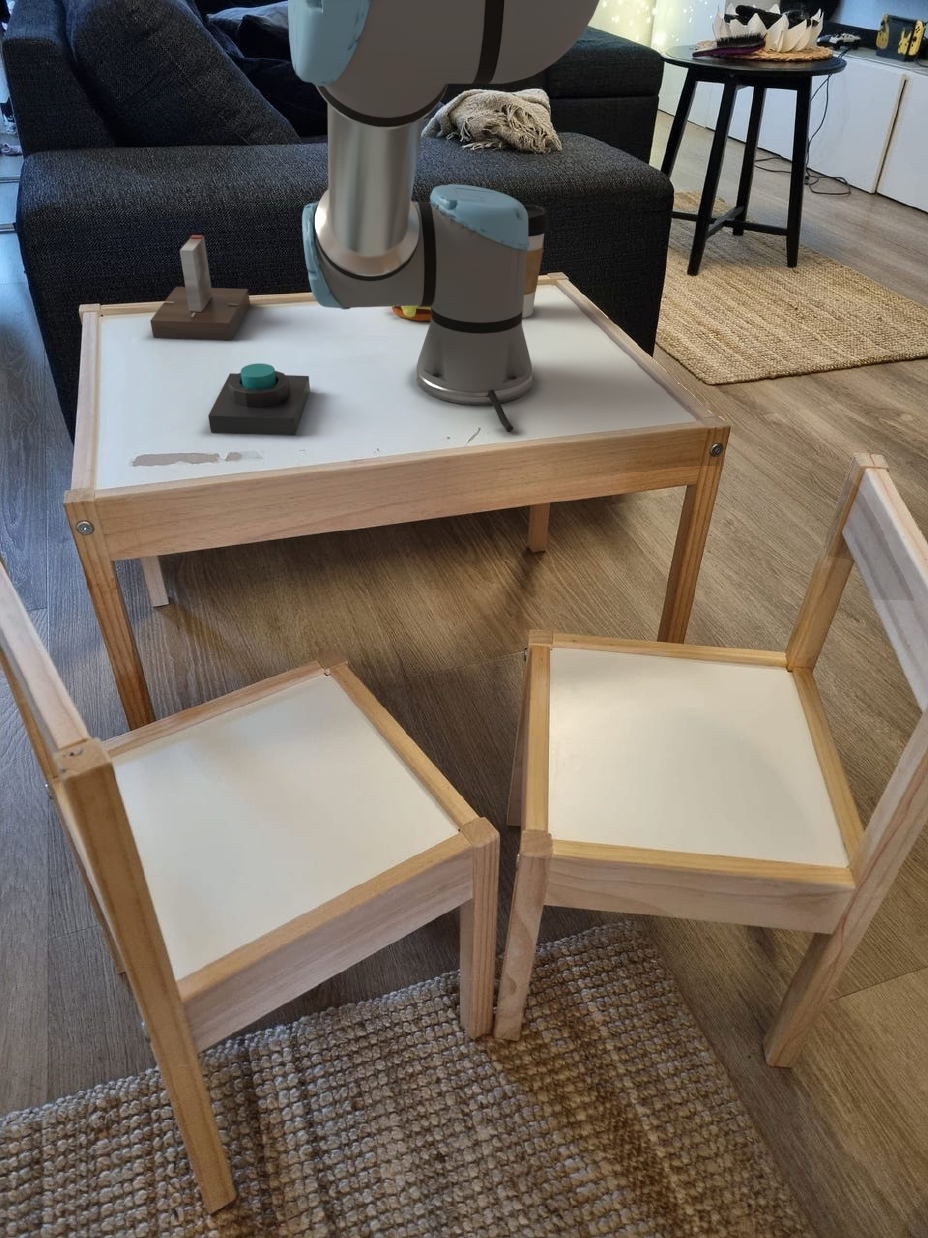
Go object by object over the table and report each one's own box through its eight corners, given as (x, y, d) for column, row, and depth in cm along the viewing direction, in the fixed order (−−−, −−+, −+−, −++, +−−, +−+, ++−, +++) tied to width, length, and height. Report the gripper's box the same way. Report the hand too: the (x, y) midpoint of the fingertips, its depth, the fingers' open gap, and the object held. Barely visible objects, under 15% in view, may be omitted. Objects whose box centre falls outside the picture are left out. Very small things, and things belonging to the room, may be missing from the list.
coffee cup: (541, 322, 139) (550, 218, 130) (486, 320, 139) (490, 215, 130) (539, 303, 145) (547, 202, 136) (486, 301, 145) (490, 200, 136)
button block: (295, 435, 108) (292, 403, 106) (210, 432, 108) (205, 401, 106) (310, 391, 118) (307, 361, 115) (232, 389, 118) (228, 359, 115)
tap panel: (231, 340, 130) (228, 321, 128) (153, 337, 130) (149, 319, 128) (250, 305, 141) (248, 287, 139) (178, 302, 141) (175, 285, 139)
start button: (273, 391, 109) (271, 377, 108) (239, 390, 109) (237, 376, 108) (278, 377, 112) (277, 363, 111) (245, 376, 112) (244, 362, 111)
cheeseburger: (459, 300, 145) (460, 241, 137) (451, 341, 138) (452, 281, 131) (395, 295, 145) (392, 236, 137) (385, 336, 139) (381, 276, 131)
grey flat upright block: (201, 311, 131) (192, 248, 126) (189, 311, 131) (179, 248, 126) (212, 296, 136) (203, 234, 131) (200, 295, 136) (191, 234, 131)
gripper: (319, -81, 107) (331, 142, 122) (307, -77, 97) (322, 166, 112) (383, -79, 107) (388, 143, 122) (378, -74, 97) (384, 167, 112)
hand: (356, 154), depth 117 cm, fingers closed
